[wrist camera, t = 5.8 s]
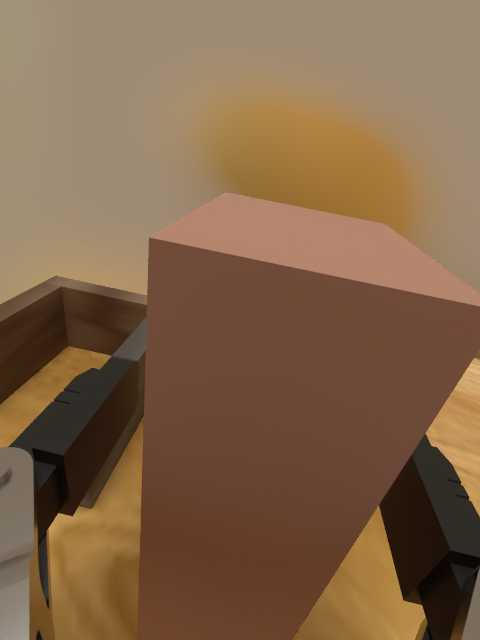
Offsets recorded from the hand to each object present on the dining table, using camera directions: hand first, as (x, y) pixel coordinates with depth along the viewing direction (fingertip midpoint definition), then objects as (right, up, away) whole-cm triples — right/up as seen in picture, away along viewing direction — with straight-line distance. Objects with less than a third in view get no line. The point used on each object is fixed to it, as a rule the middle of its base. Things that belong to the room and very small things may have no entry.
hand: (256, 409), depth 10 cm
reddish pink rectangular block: (-2, -9, +4) cm, 10 cm away
